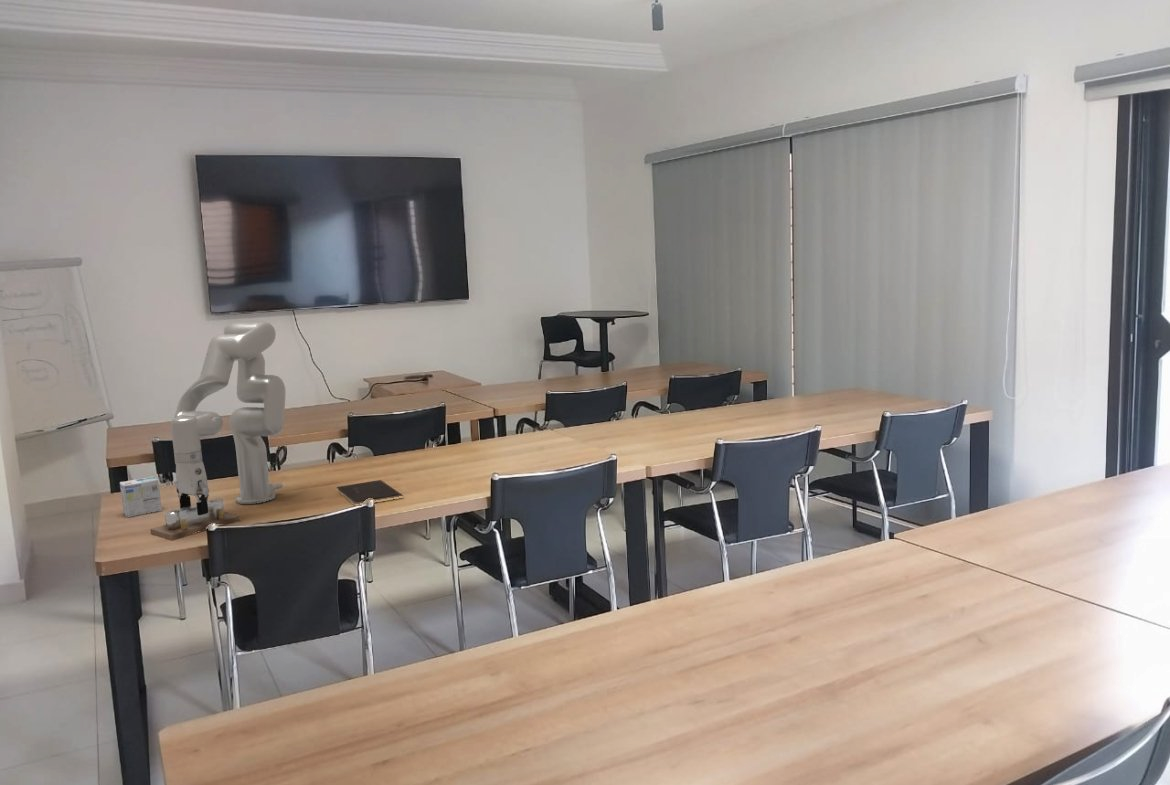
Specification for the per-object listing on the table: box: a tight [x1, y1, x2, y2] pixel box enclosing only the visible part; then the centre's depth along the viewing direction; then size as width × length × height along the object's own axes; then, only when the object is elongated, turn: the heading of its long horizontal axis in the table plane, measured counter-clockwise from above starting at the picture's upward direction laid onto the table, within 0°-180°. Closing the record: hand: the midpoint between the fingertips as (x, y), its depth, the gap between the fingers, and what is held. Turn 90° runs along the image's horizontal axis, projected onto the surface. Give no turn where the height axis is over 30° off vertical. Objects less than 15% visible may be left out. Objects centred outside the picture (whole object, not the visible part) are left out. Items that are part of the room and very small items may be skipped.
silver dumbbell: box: [164, 498, 225, 530], centre depth 270 cm, size 18×4×5 cm, turn 143°
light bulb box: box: [119, 475, 163, 518], centre depth 288 cm, size 11×7×11 cm, turn 129°
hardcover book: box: [336, 479, 403, 505], centre depth 299 cm, size 16×23×2 cm
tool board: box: [150, 509, 241, 541], centre depth 270 cm, size 22×12×4 cm, turn 144°
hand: (194, 511), depth 269 cm, fingers open, 9 cm apart
